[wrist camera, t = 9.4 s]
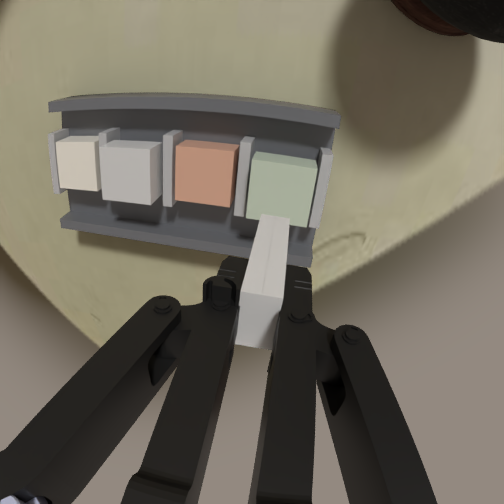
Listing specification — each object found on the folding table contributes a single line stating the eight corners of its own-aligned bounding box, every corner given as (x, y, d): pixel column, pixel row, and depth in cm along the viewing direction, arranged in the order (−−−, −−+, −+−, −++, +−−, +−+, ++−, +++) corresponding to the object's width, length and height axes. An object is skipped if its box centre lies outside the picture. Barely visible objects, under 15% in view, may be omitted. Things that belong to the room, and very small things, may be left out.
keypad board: (81, 211, 33) (59, 229, 29) (73, 96, 26) (45, 102, 22) (309, 244, 31) (310, 270, 28) (335, 110, 24) (341, 116, 21)
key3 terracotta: (184, 189, 28) (174, 200, 26) (185, 139, 25) (175, 146, 23) (235, 196, 27) (229, 207, 25) (239, 144, 25) (234, 151, 23)
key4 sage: (250, 205, 26) (245, 218, 24) (256, 151, 24) (252, 159, 22) (305, 214, 26) (306, 227, 24) (315, 160, 23) (317, 169, 21)
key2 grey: (116, 189, 27) (102, 199, 25) (114, 139, 24) (99, 146, 22) (162, 194, 26) (150, 205, 24) (162, 142, 24) (149, 149, 22)
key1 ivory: (74, 179, 28) (60, 187, 26) (70, 135, 26) (55, 142, 24) (110, 182, 28) (97, 191, 26) (108, 135, 26) (94, 142, 24)
